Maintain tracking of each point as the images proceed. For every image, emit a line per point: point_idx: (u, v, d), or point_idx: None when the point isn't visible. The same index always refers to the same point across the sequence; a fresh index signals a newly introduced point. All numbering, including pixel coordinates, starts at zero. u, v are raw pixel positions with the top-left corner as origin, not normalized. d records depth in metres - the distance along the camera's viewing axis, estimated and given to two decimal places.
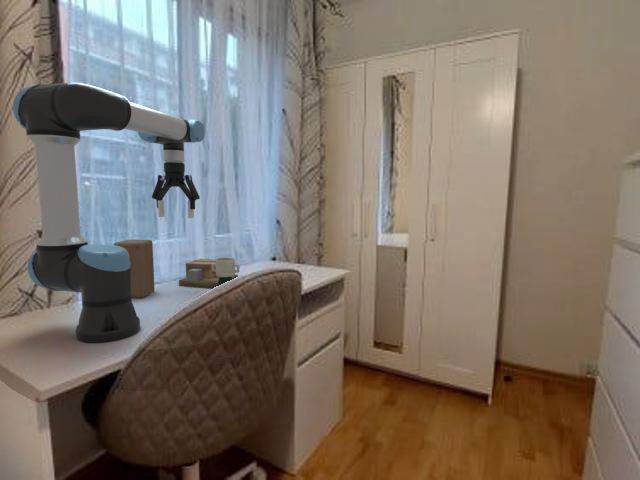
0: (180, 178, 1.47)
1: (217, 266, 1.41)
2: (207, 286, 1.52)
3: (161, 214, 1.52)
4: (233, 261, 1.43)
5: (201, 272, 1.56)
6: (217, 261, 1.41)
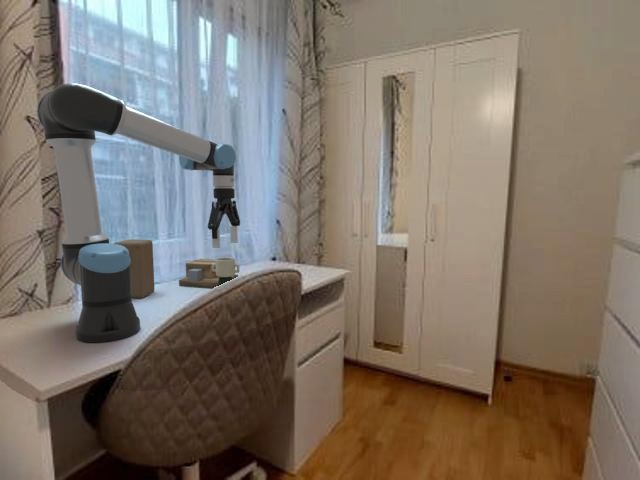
0: None
1: (217, 266, 1.41)
2: (207, 286, 1.52)
3: (232, 240, 1.49)
4: (233, 261, 1.43)
5: (201, 272, 1.56)
6: (217, 261, 1.41)
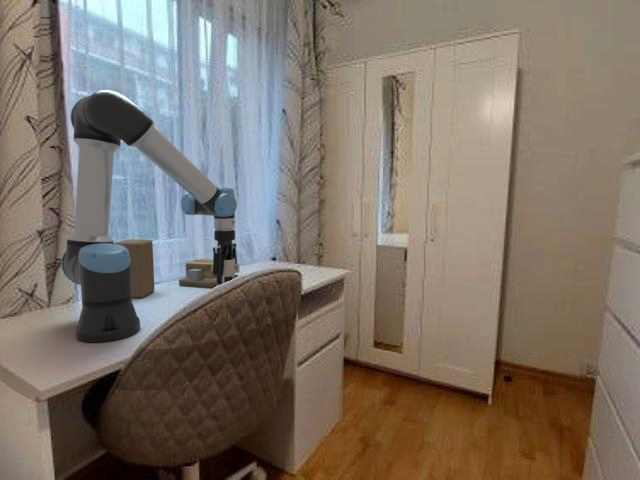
0: None
1: None
2: (207, 286, 1.52)
3: None
4: (233, 261, 1.43)
5: (201, 272, 1.56)
6: None
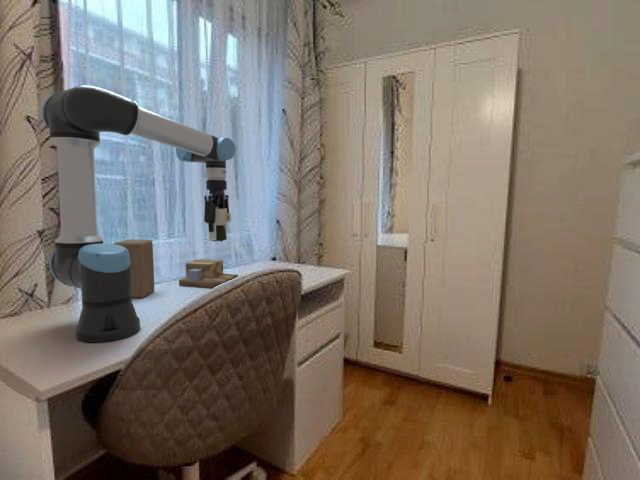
0: None
1: None
2: (207, 286, 1.52)
3: None
4: (225, 210, 1.47)
5: (201, 272, 1.56)
6: None
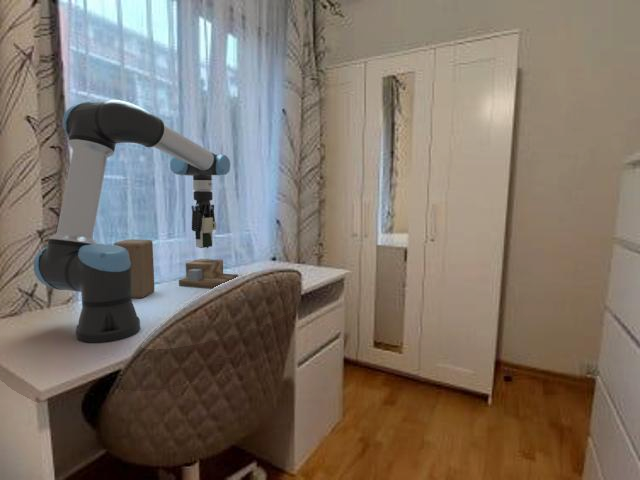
0: None
1: None
2: (207, 286, 1.52)
3: None
4: (211, 219, 1.59)
5: (201, 272, 1.56)
6: None
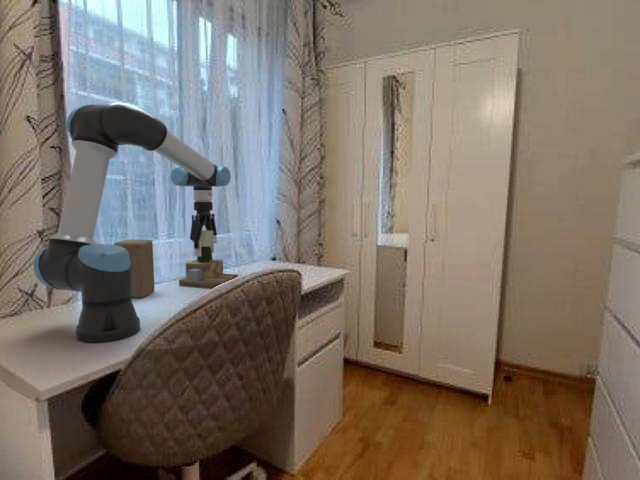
0: None
1: None
2: (207, 286, 1.52)
3: None
4: (211, 233, 1.60)
5: (201, 272, 1.56)
6: None
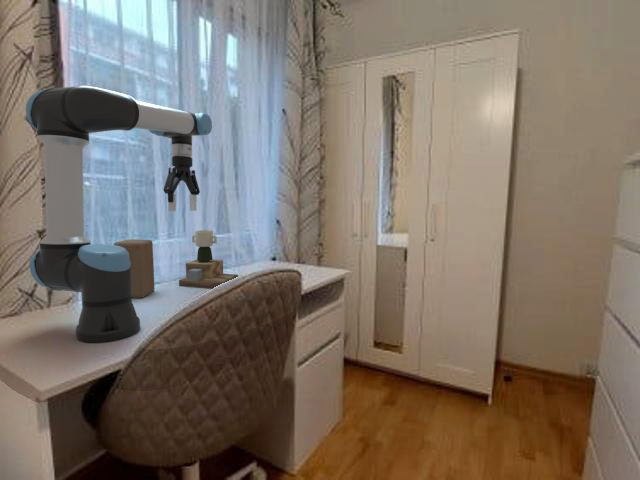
0: None
1: (196, 237, 1.58)
2: (207, 286, 1.52)
3: (191, 208, 1.58)
4: (211, 233, 1.60)
5: (201, 272, 1.56)
6: (196, 232, 1.58)
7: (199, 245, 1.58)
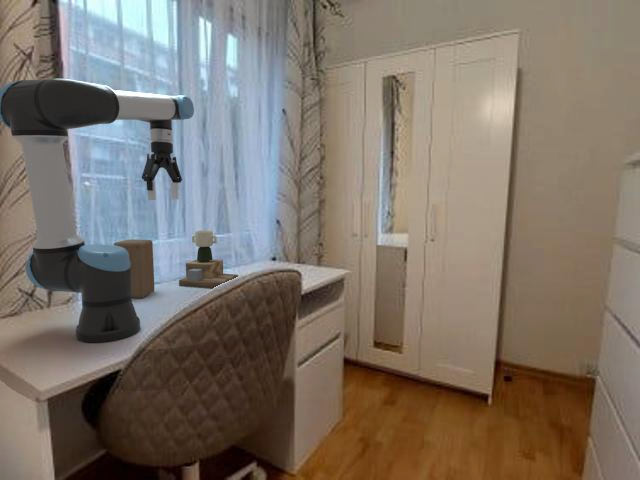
0: None
1: (196, 237, 1.58)
2: (207, 286, 1.52)
3: (173, 196, 1.51)
4: (211, 233, 1.60)
5: (201, 272, 1.56)
6: (196, 232, 1.58)
7: (199, 245, 1.58)
